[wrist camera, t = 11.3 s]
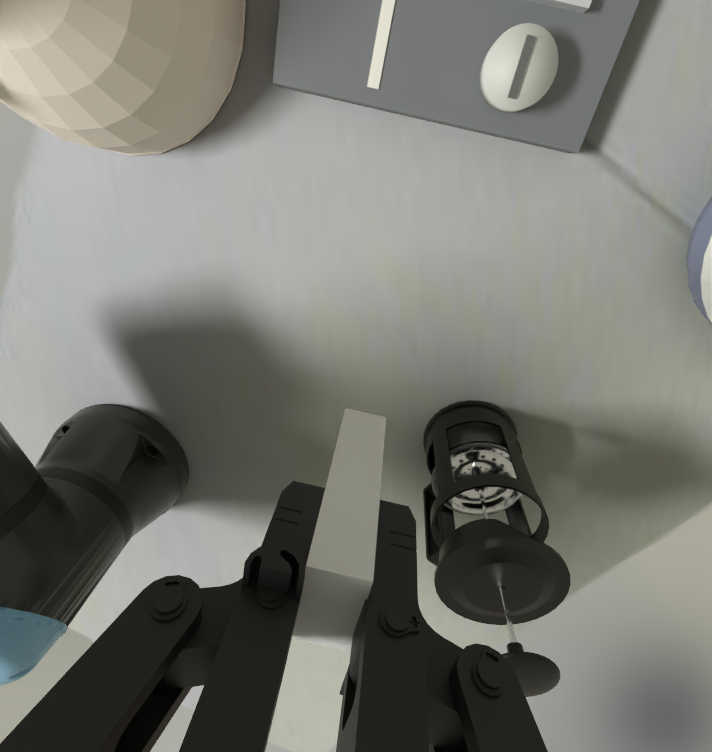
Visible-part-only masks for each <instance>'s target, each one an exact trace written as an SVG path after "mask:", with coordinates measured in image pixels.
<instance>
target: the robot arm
mask: <svg viewBox="0 0 712 752" xmlns="http://www.w3.org/2000/svg"><path fill="white" fill-rule="evenodd" d="M385 430H386V417H383V416H378V415H374V414H370V413H365V412H361V411H357V410H352V409H348V408H345V411H344V415H343V419H342V423H341V427H340V431H339V435H338V439H337V443H336V447H335V451H334V455H333V459H332V463H331V467H330V471H329V475H328V479H327V483H326V488H322V487H317V486H313V485H309V484H304V483H300V482H296V481H293V482H292V483H291V484H289V485H288V486H287V487H286V488H285V489H284V490H283V491H282V493H281V495H280V498H279V501H278V503H277V507H276V509H275V511H274V514H273V517H272V520H271V522H270V525H269V527H268V530H267V533H266V535H265V538H264V541H263V543H262V546H261V547H259V548H258V549H256V550H255V551H253V552H252V553H251V554H250V555H249V557H248V558H247V560H246V562H245V566H244V574H243V578H242V579H240V580H239V581H237V582H235V583H232V584H230V585H226V586H220V587H210V588H199V586H198V584H196V583H195V582H194V581H193V580H192V579H190V578H187V577H183V576H180V575H177V576H166V577H164V578H161V579H159V580H156V581H154V582H153V583H151V584H150V585H149V586H147V587H146V588H145V589H144V590H143V591H142V592H141V593H140V594H139V595H138V596H137V597H136V598H135V599H134V600H133V601H132V602H131V604H130V605H129V606H128V607H127V608H126V609H125V610H124V611H123V612H122V613H121V614H120V615H119V616H118V618H117V619H116V620H115V621H114V622H113V623H112V624H111V625H110V626H109V627H108V628H107V629H106V630H105V632H104V633H103V634H102V635H101V636H100V637H99V638H98V639H97V640H96V641H95V642H94V643H93V644H92V646H91V647H90V648H89V649H88V650H87V651H86V652H85V653H84V654H83V655H82V656H81V657H80V658H79V660H78V661H77V662H76V663H75V664H74V665H73V666H72V667H71V668H70V669H69V670H68V672H66V674H65V675H64V676H63V677H62V678H61V679H60V680H59V681H58V682H57V683H56V684H55V685H54V687H53V688H52V689H51V690H50V691H49V692H48V693H47V694H46V695H45V697H43V698H42V700H41V701H40V702H39V703H38V704H37V705H36V706H35V707H34V708H33V709H32V710H31V711H30V712H29V713H28V715H27V716H26V717H25V718H24V719H23V720H22V721H21V722H20V723H19V724H18V725H17V726H16V727H15V729H14V730H13V731H12V732H11V733H10V734H9V735H8V736H7V737H6V738H5V739H4V740H3V741H2V743H1V744H0V752H150V751H151V749H152V747H153V746H154V744H155V743H156V741H157V740H158V738H159V737H160V735H161V734H162V732H163V731H164V729H165V727H166V726H167V724H168V723H169V721H170V720H171V718H172V717H173V715H174V714H175V712H176V711H177V709H178V707H179V706H180V705H181V703H182V701H183V700H184V698H185V697H186V695H187V694H188V692H189V691H190V689H191V688H192V687H194V686H200V685H204V688H203V690H202V693H201V696H200V698H199V701H198V703H197V706H196V709H195V711H194V714H193V717H192V720H191V722H190V724H189V727H188V730H187V732H186V735H185V737H184V740H183V743H182V745H181V748H180V750H179V752H265V749H266V745H267V741H268V736H269V732H270V728H271V724H272V720H273V715H274V711H275V707H276V703H277V699H278V694H279V690H280V686H281V682H282V678H283V673H284V669H285V665H286V660H287V656H288V652H289V647H290V643H291V639H292V638H293V639H298V640H302V641H306V642H311V643H315V644H319V645H323V646H328V647H332V648H336V649H341V650H345V651H350V648H351V656H350V664H349V667H348V670H347V673H346V676H345V678H344V681H343V684H342V687H341V690H340V695H343V699H342V708H341V716H340V724H339V732H338V740H337V748H336V752H548V751H547V749H546V747H545V744H544V742H543V739H542V737H541V734H540V732H539V729H538V727H537V725H536V722H535V720H534V717H533V715H532V712H531V710H530V708H529V705H528V703H527V700H526V698H525V695H524V693H523V690H522V688H521V685H520V683H519V680H518V678H517V676H516V674H515V672H514V670H513V669H512V667H511V665H510V663H509V662H508V661H507V660H506V659H505V658H504V657H503V656H502V655H501V654H500V653H499V652H497V651H496V650H494V649H492V648H491V647H489V646H486V645H481V644H473V645H469V646H466V647H465V648H464V649H462V648H460V647H458V646H457V645H455V644H453V643H452V642H450V641H448V640H447V639H445V638H443V637H442V636H440V635H439V634H438V633H436V632H435V631H434V630H433V629H432V628H431V627H430V626H429V625H428V624H427V622H426V621H425V619H424V618H423V616H422V614H421V611H420V609H419V605H418V595H417V552H416V521H415V519H414V517H413V514H412V512H411V510H410V508H409V507H408V506H404V505H400V504H395V503H391V502H387V501H382V500H380V491H381V479H382V467H383V454H384V442H385ZM187 481H188V465H187V461H186V458H185V456H184V453H183V451H182V449H181V448H180V446H179V445H178V443H177V442H176V440H175V439H174V438H173V437H172V436H171V435H170V433H169V432H168V431H166V430H165V429H164V428H163V427H162V426H161V425H159V424H158V423H157V422H155V421H154V420H152V419H151V418H149V417H147V416H145V415H144V414H141V413H139V412H137V411H134V410H132V409H129V408H125V407H121V406H115V405H95V406H90V407H87V408H85V409H82V410H80V411H79V412H77V413H76V414H75V415H73V416H72V417H71V418H69V419H68V420H67V421H66V422H64V423H63V424H62V425H61V426H60V427H59V428H58V429H57V431H56V432H55V434H54V435H53V437H52V439H51V440H50V442H49V444H48V446H47V447H46V449H45V451H44V452H43V454H42V456H41V457H40V459H39V461H38V463H37V464H36V466H35V467H34V466H33V464H32V463H31V462H30V460H29V459H28V458H27V456H26V455H25V454H24V452H23V451H22V450H21V448H20V447H19V446H18V444H17V443H16V442H15V440H14V439H13V438H12V436H11V435H10V434H9V433H8V431H7V430H6V429H5V427H4V426H3V425H2V423H1V422H0V685H4V684H8V683H11V682H13V681H16V680H18V679H20V678H22V677H24V676H25V675H26V674H28V673H29V672H30V671H31V670H32V669H33V668H34V667H35V666H36V665H37V664H38V663H39V661H40V660H41V659H42V658H43V656H44V655H45V654H46V653H47V652H48V650H49V649H50V648H51V647H52V646H53V644H54V643H55V642H56V641H57V640H58V638H59V637H61V636H62V635H63V634H64V633H65V632H66V630H67V628H68V625H69V624H70V623H71V621H72V620H73V618H74V617H75V615H76V614H77V613H78V611H79V610H80V608H81V607H82V606H83V604H84V603H85V601H86V600H87V599H88V597H89V596H90V594H91V593H92V592H93V590H94V589H95V587H96V586H97V585H98V583H99V582H100V580H101V579H102V577H103V576H104V575H105V573H106V572H107V570H108V569H109V568H110V566H111V565H112V563H113V562H114V561H115V559H116V558H117V556H118V555H119V554H120V552H121V551H122V549H123V548H124V547H125V545H126V544H127V543H128V541H129V540H130V539H131V537H132V536H134V535H135V534H136V533H138V532H139V531H140V530H142V529H143V528H145V527H146V526H147V525H149V524H150V523H151V522H153V521H154V520H155V519H157V518H158V517H159V516H160V515H162V514H164V513H165V512H167V511H168V510H169V509H170V508H171V507H172V506H173V505H174V504H175V502H176V501H177V499H178V498H179V496H180V495H181V494H182V492H183V491H184V489H185V487H186V484H187ZM351 645H352V647H351Z"/></svg>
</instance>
